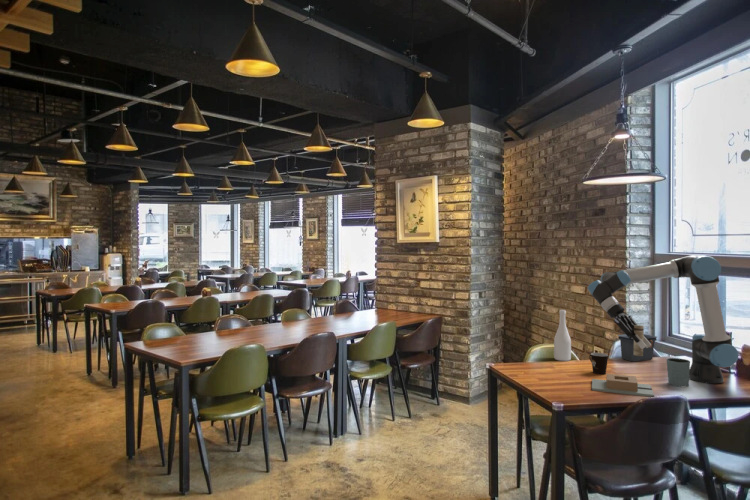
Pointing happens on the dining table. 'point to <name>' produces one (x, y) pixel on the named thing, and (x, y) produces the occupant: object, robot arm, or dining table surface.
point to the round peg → (640, 332)
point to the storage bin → (628, 348)
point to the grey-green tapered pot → (678, 371)
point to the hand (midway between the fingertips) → (646, 346)
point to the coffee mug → (599, 362)
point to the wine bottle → (562, 340)
